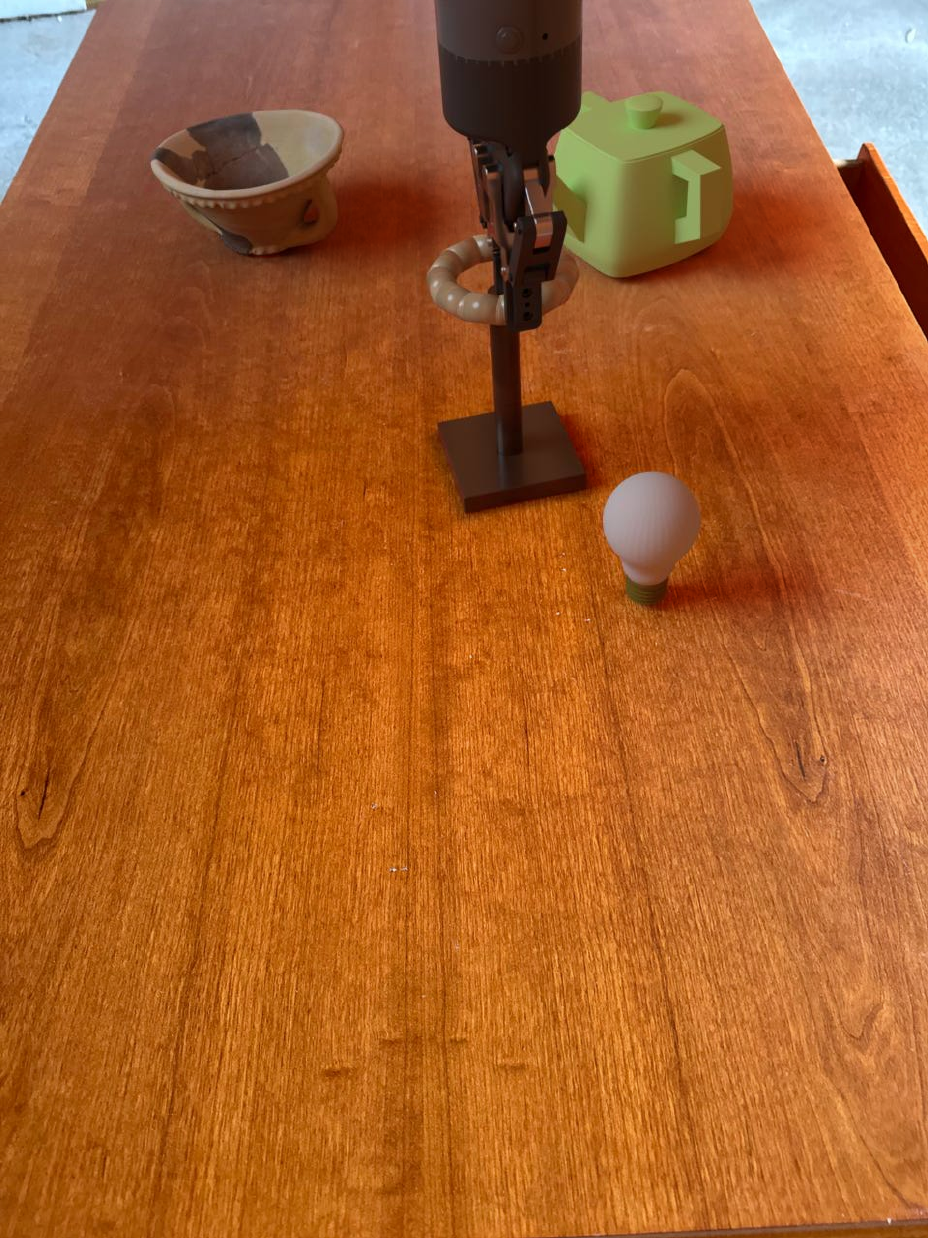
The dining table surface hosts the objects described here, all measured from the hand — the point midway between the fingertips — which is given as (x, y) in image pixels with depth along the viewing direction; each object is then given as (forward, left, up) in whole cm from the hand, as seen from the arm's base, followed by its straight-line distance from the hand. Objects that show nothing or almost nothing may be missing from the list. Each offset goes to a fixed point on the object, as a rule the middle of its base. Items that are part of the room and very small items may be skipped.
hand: (518, 315), depth 71 cm
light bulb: (-5, +12, -15) cm, 20 cm away
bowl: (+14, -43, -15) cm, 48 cm away
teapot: (-17, -30, -15) cm, 38 cm away
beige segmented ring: (0, -4, +1) cm, 4 cm away
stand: (0, -4, -15) cm, 16 cm away
